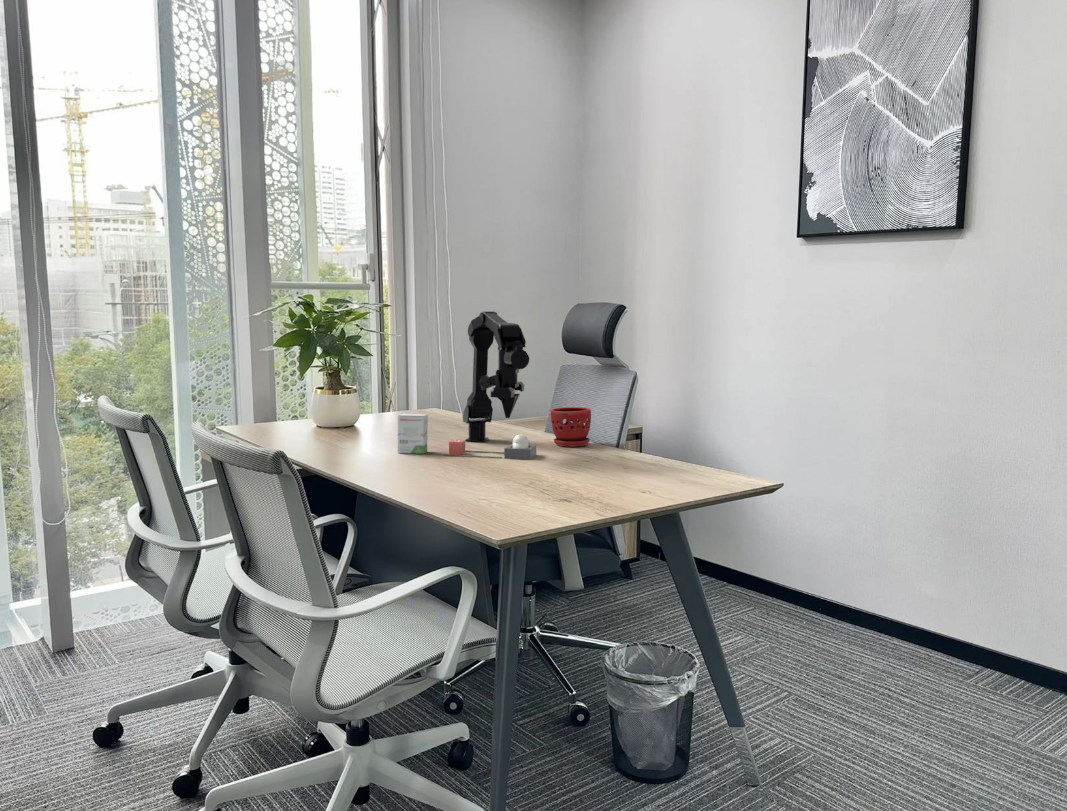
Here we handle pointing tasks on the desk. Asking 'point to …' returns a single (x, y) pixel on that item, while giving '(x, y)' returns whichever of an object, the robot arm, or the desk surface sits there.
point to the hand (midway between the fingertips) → (507, 417)
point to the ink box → (412, 433)
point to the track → (476, 456)
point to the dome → (520, 441)
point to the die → (457, 447)
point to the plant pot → (571, 426)
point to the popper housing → (519, 452)
